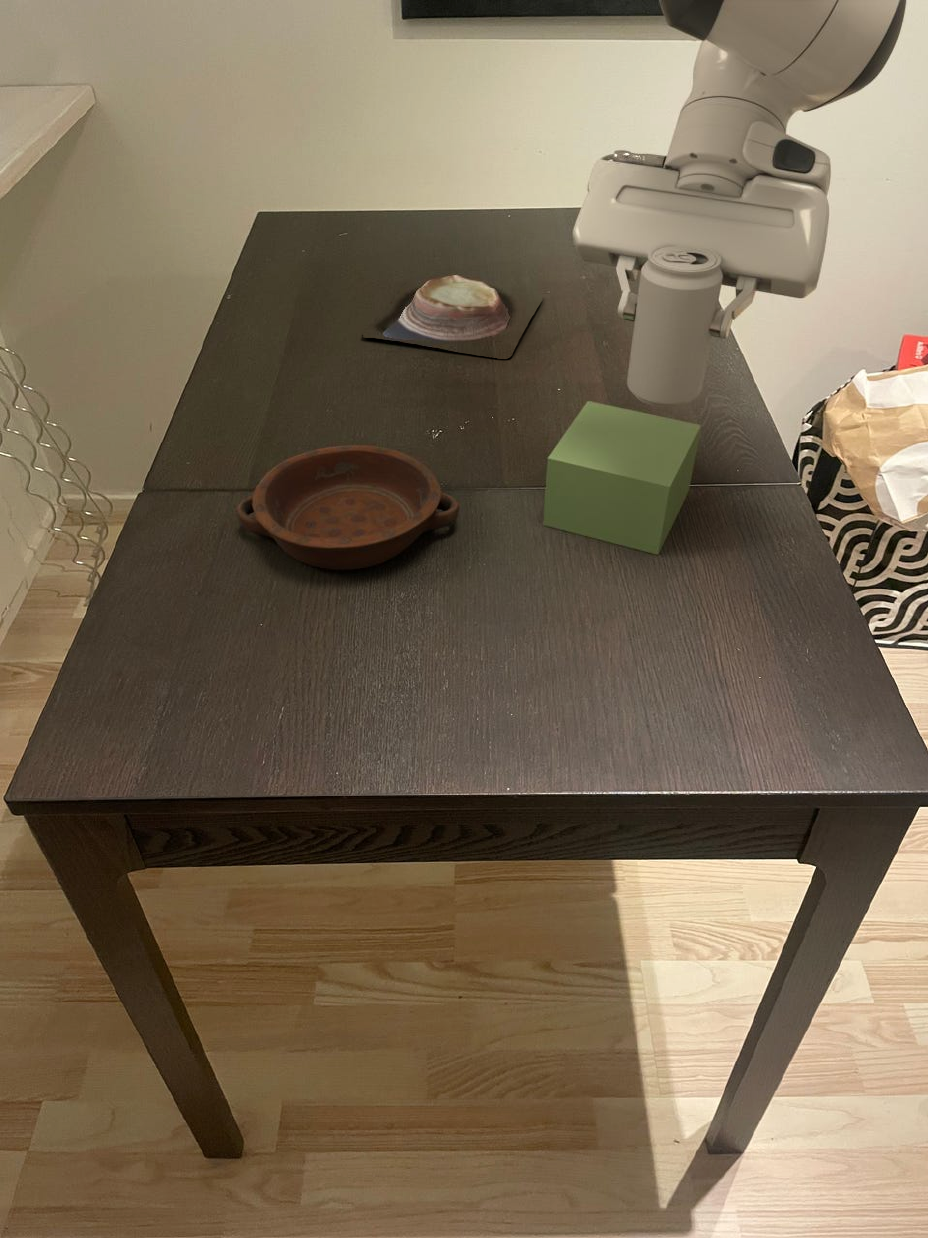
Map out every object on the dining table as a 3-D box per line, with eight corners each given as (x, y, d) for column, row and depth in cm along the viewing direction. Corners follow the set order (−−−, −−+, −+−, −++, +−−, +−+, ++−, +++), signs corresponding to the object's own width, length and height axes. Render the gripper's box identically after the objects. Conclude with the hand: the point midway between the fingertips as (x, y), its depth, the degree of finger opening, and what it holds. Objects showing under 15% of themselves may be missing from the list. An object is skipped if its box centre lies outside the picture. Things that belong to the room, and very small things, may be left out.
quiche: (358, 340, 127) (356, 311, 125) (408, 281, 142) (407, 254, 139) (510, 361, 123) (511, 332, 120) (545, 298, 137) (546, 270, 135)
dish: (463, 583, 90) (463, 541, 86) (228, 591, 89) (218, 549, 86) (455, 480, 103) (455, 439, 99) (249, 485, 102) (242, 445, 99)
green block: (688, 491, 101) (701, 424, 96) (658, 555, 93) (670, 486, 88) (581, 465, 105) (587, 400, 99) (543, 525, 97) (547, 457, 91)
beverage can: (706, 412, 80) (734, 272, 72) (629, 411, 80) (649, 271, 72) (693, 375, 85) (718, 240, 77) (621, 374, 85) (638, 239, 77)
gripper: (593, 125, 78) (544, 288, 78) (852, 159, 72) (799, 335, 72) (604, 167, 84) (558, 317, 84) (843, 201, 78) (795, 363, 78)
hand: (671, 326), depth 78 cm, fingers closed on beverage can, 6 cm apart
